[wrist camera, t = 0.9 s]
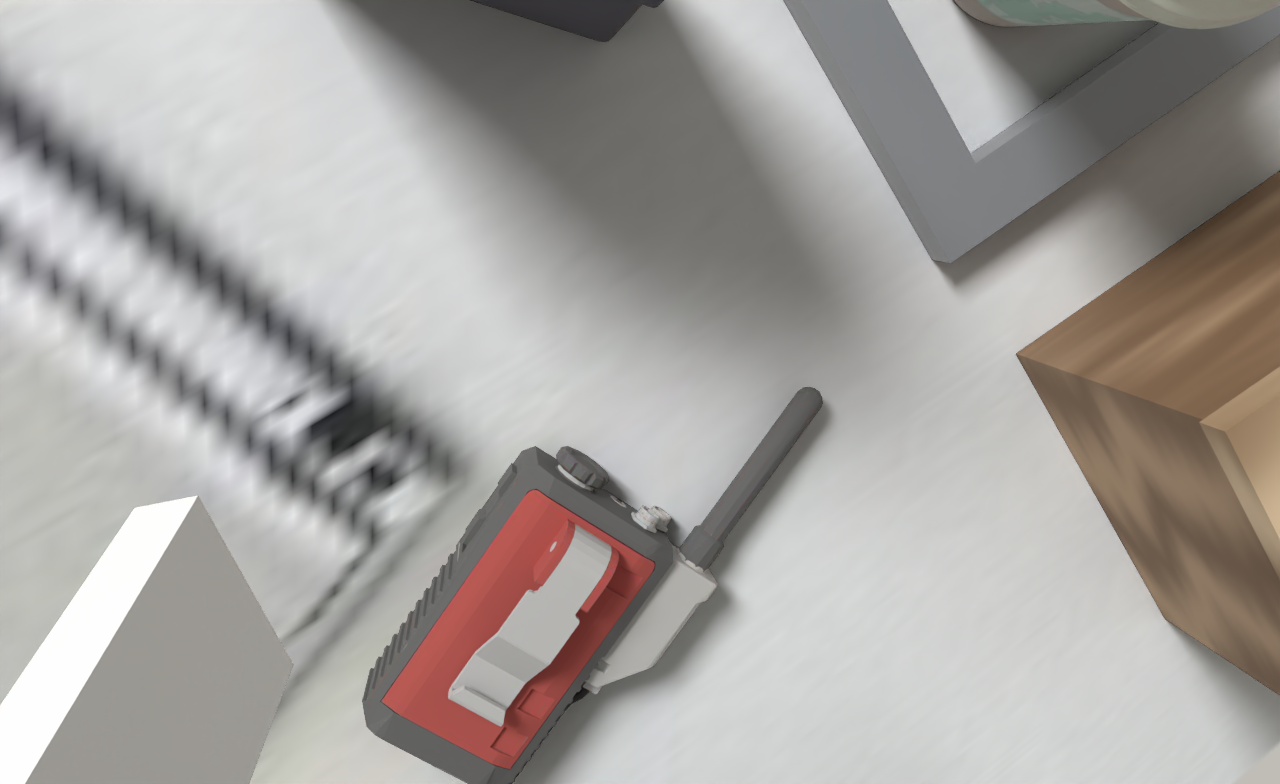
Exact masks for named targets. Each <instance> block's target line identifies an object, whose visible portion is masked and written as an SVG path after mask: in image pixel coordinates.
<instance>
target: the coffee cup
mask: <svg viewBox="0 0 1280 784" xmlns="http://www.w3.org/2000/svg"><path fill="white" fill-rule="evenodd" d="M954 1H955V3H956V4H957V5H958V6H959V7H960V8H961V9H963V10H964V11H965V12H966V13H968V14H969V15H970V16H972V17H974V18H975V19H977V20H979V21H982V22H984V23H987V24H990V25H995V26H1002V27H1014V26H1042V25H1062V24H1082V23H1102V22H1122V21H1143V20H1154V21H1156V22H1159V23H1162V24H1166V25H1169V26H1174V27H1179V28H1187V29H1213V28H1220V27H1226V26H1230V25H1234V24H1238V23H1241V22H1244V21H1247V20H1249V19H1252V18H1254V17H1257V16H1259V15H1261V14H1263V13H1265V12H1267V11H1270V10H1272V9H1274V8H1276V7H1278V6H1280V0H954Z"/></svg>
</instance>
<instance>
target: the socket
mask: <svg viewBox="0 0 1280 784" xmlns="http://www.w3.org/2000/svg"><path fill="white" fill-rule="evenodd" d="M784 2H785V4H786V5H787V7H788V9H789V11H790V12H791V14H792V16H793V18H794V19H795V21H796V23H797V25H798V26H799V28H800V30H801V31H802V33H803V35H804V37H805V38H806V40H807V42H808V44H809V45H810V47H811V49H812V51H813V52H814V54H815V56H816V58H817V59H818V61H819V63H820V65H821V66H822V68H823V70H824V72H825V73H826V75H827V77H828V79H829V80H830V82H831V84H832V86H833V87H834V89H835V91H836V93H837V94H838V96H839V98H840V100H841V101H842V103H843V105H844V107H845V108H846V110H847V112H848V114H849V115H850V117H851V119H852V121H853V122H854V124H855V126H856V128H857V129H858V131H859V133H860V135H861V136H862V138H863V140H864V142H865V143H866V145H867V147H868V149H869V150H870V152H871V154H872V155H873V157H874V159H875V161H876V162H877V164H878V166H879V168H880V169H881V171H882V173H883V175H884V176H885V178H886V180H887V182H888V183H889V185H890V187H891V189H892V190H893V192H894V194H895V196H896V197H897V199H898V201H899V203H900V204H901V206H902V208H903V210H904V211H905V213H906V215H907V217H908V218H909V220H910V222H911V224H912V225H913V227H914V229H915V231H916V232H917V234H918V236H919V238H920V239H921V241H922V243H923V245H924V246H925V248H926V250H927V252H928V253H929V255H930V257H931V259H932V260H936V261H941V262H946V263H952V262H953V261H955V260H956V259H958V258H959V257H960V256H962V255H963V254H965V253H966V252H968V251H969V250H971V249H972V248H973V247H975V246H976V245H978V244H979V243H981V242H982V241H983V240H985V239H986V238H988V237H989V236H991V235H992V234H994V233H995V232H996V231H998V230H999V229H1001V228H1002V227H1004V226H1005V225H1006V224H1008V223H1009V222H1011V221H1012V220H1014V219H1015V218H1017V217H1018V216H1019V215H1021V214H1022V213H1024V212H1025V211H1027V210H1028V209H1030V208H1031V207H1032V206H1034V205H1035V204H1037V203H1038V202H1040V201H1041V200H1042V199H1044V198H1045V197H1047V196H1048V195H1050V194H1051V193H1053V192H1054V191H1055V190H1057V189H1058V188H1060V187H1061V186H1063V185H1064V184H1065V183H1067V182H1068V181H1070V180H1071V179H1073V178H1074V177H1076V176H1077V175H1078V174H1080V173H1081V172H1083V171H1084V170H1086V169H1087V168H1089V167H1090V166H1091V165H1093V164H1094V163H1096V162H1097V161H1099V160H1100V159H1101V158H1103V157H1104V156H1106V155H1107V154H1109V153H1110V152H1112V151H1113V150H1114V149H1116V148H1117V147H1119V146H1120V145H1122V144H1123V143H1124V142H1126V141H1127V140H1129V139H1130V138H1132V137H1133V136H1135V135H1136V134H1137V133H1139V132H1140V131H1142V130H1143V129H1145V128H1146V127H1148V126H1149V125H1150V124H1152V123H1153V122H1155V121H1156V120H1158V119H1159V118H1160V117H1162V116H1163V115H1165V114H1166V113H1168V112H1169V111H1171V110H1172V109H1173V108H1175V107H1176V106H1178V105H1179V104H1181V103H1182V102H1183V101H1185V100H1186V99H1188V98H1189V97H1191V96H1192V95H1194V94H1195V93H1196V92H1198V91H1199V90H1201V89H1202V88H1204V87H1205V86H1207V85H1208V84H1209V83H1211V82H1212V81H1214V80H1215V79H1217V78H1218V77H1219V76H1221V75H1222V74H1224V73H1225V72H1227V71H1228V70H1230V69H1231V68H1232V67H1234V66H1235V65H1237V64H1238V63H1240V62H1241V61H1243V60H1244V59H1245V58H1247V57H1248V56H1250V55H1251V54H1253V53H1254V52H1255V51H1257V50H1258V49H1260V48H1261V47H1263V46H1264V45H1266V44H1267V43H1268V42H1270V41H1271V40H1273V39H1274V38H1276V37H1277V36H1278V35H1280V6H1278V7H1276V8H1274V9H1272V10H1270V11H1267V12H1265V13H1263V14H1261V15H1259V16H1257V17H1254V18H1252V19H1249V20H1247V21H1244V22H1241V23H1238V24H1234V25H1230V26H1226V27H1220V28H1213V29H1187V28H1179V27H1174V26H1169V25H1166V24H1162V23H1158V24H1157V25H1155V26H1154V27H1152V28H1151V29H1149V30H1148V31H1147V32H1145V33H1144V34H1142V35H1141V36H1139V37H1138V38H1136V39H1135V40H1134V41H1132V42H1131V43H1129V44H1128V45H1126V46H1125V47H1123V48H1122V49H1121V50H1119V51H1118V52H1116V53H1115V54H1113V55H1112V56H1111V57H1109V58H1108V59H1106V60H1105V61H1103V62H1102V63H1100V64H1099V65H1098V66H1096V67H1095V68H1093V69H1092V70H1090V71H1089V72H1088V73H1086V74H1085V75H1083V76H1082V77H1080V78H1079V79H1077V80H1076V81H1075V82H1073V83H1072V84H1070V85H1069V86H1067V87H1066V88H1065V89H1063V90H1062V91H1060V92H1059V93H1057V94H1056V95H1054V96H1053V97H1052V98H1050V99H1049V100H1047V101H1046V102H1044V103H1043V104H1042V105H1040V106H1039V107H1037V108H1036V109H1034V110H1033V111H1031V112H1030V113H1029V114H1027V115H1026V116H1024V117H1023V118H1021V119H1020V120H1019V121H1017V122H1016V123H1014V124H1013V125H1011V126H1010V127H1008V128H1007V129H1006V130H1004V131H1003V132H1001V133H1000V134H998V135H997V136H996V137H994V138H993V139H991V140H990V141H988V142H987V143H985V144H984V145H983V146H981V147H980V148H978V149H977V150H975V151H974V152H973V153H971V154H970V152H969V150H968V149H967V147H966V145H965V143H964V141H963V139H962V137H961V136H960V134H959V132H958V130H957V128H956V126H955V125H954V123H953V121H952V119H951V117H950V115H949V113H948V112H947V110H946V108H945V106H944V104H943V102H942V100H941V99H940V97H939V95H938V93H937V91H936V89H935V88H934V86H933V84H932V82H931V80H930V78H929V76H928V75H927V73H926V71H925V69H924V67H923V65H922V64H921V62H920V60H919V58H918V56H917V54H916V52H915V51H914V49H913V47H912V45H911V43H910V41H909V40H908V38H907V36H906V34H905V32H904V30H903V28H902V27H901V25H900V23H899V21H898V19H897V17H896V16H895V14H894V12H893V10H892V8H891V6H890V4H889V3H888V1H887V0H784Z"/></svg>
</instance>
